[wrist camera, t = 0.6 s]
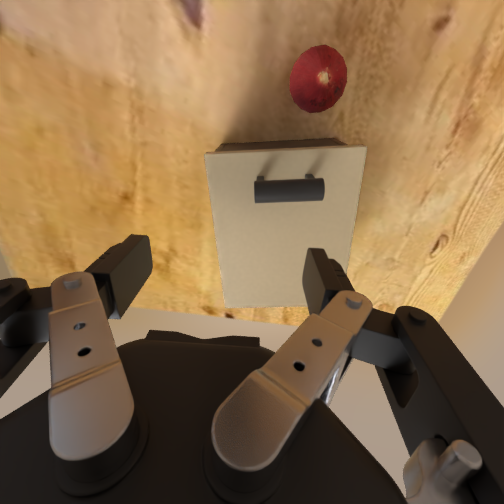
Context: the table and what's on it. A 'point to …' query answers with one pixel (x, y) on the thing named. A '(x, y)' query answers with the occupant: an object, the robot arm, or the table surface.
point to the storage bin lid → (281, 217)
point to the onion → (318, 79)
